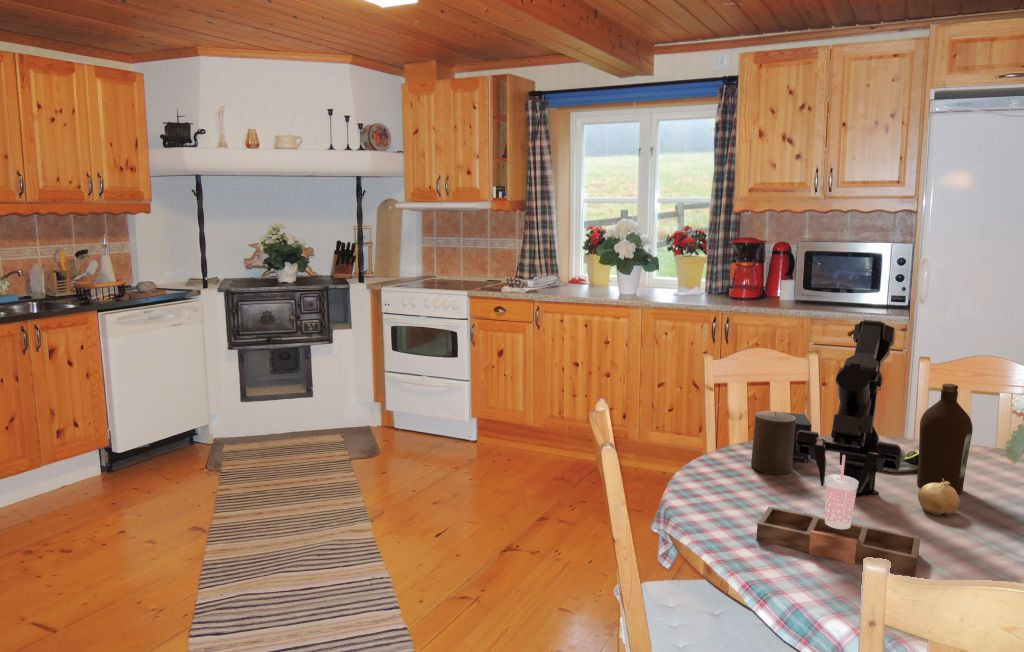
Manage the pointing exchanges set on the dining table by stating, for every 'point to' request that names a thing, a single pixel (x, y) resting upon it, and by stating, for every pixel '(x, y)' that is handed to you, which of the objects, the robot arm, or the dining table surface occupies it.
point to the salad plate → (907, 462)
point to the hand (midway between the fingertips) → (840, 488)
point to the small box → (800, 424)
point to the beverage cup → (840, 499)
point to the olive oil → (944, 441)
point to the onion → (938, 498)
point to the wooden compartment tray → (838, 540)
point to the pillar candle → (773, 442)
